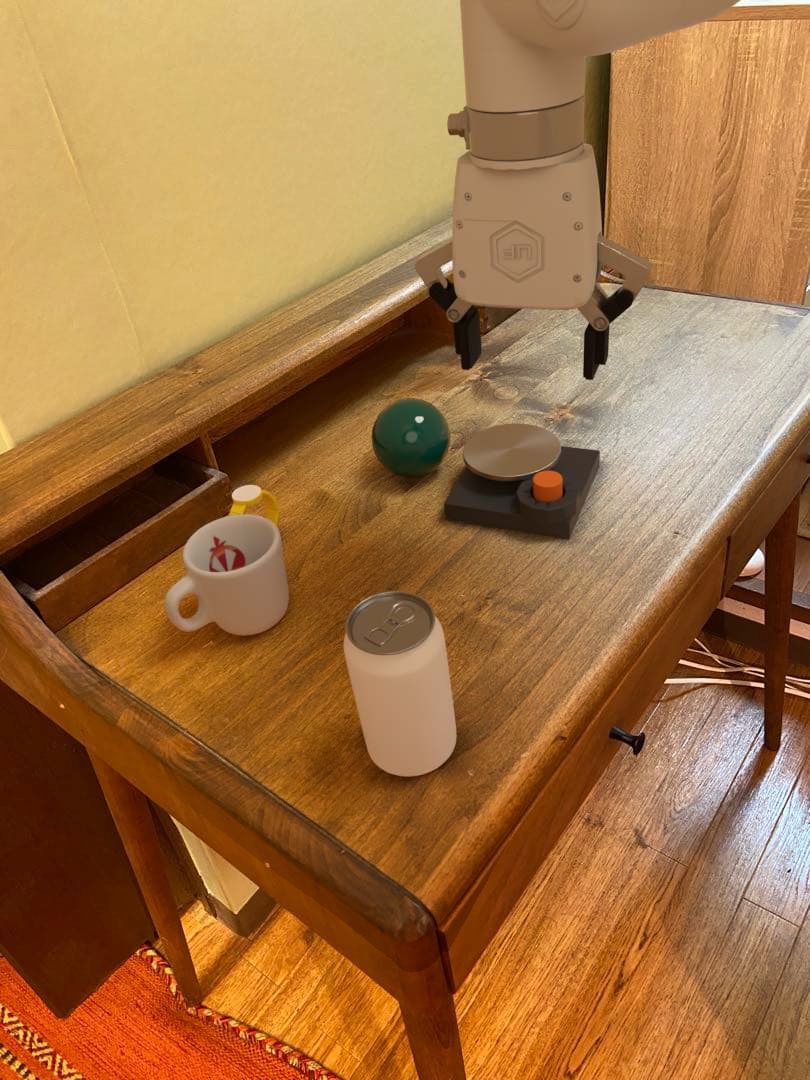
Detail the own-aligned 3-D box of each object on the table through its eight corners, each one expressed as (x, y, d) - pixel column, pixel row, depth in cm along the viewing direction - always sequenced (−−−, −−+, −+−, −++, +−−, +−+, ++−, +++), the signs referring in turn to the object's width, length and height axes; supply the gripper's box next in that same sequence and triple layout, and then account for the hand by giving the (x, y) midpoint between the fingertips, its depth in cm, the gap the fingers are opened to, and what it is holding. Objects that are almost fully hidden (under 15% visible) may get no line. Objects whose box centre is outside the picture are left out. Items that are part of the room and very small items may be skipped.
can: (475, 732, 58) (462, 610, 51) (418, 796, 55) (395, 675, 47) (406, 693, 62) (385, 573, 55) (348, 750, 58) (317, 631, 51)
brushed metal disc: (571, 433, 81) (571, 428, 81) (546, 487, 74) (546, 482, 74) (481, 423, 84) (481, 418, 84) (449, 474, 78) (448, 469, 78)
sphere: (363, 469, 87) (351, 403, 82) (425, 441, 90) (417, 375, 85) (403, 503, 81) (393, 434, 76) (469, 472, 84) (463, 403, 79)
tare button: (565, 488, 75) (565, 472, 74) (558, 504, 73) (558, 488, 72) (537, 484, 76) (537, 468, 75) (529, 500, 74) (529, 484, 73)
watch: (253, 566, 76) (237, 515, 73) (229, 559, 77) (213, 509, 74) (289, 528, 80) (276, 478, 76) (267, 523, 81) (252, 473, 78)
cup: (209, 682, 65) (180, 609, 60) (163, 634, 70) (132, 563, 65) (317, 611, 70) (298, 538, 65) (266, 571, 75) (245, 501, 70)
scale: (602, 466, 82) (603, 436, 80) (570, 544, 73) (570, 513, 71) (485, 452, 87) (483, 423, 84) (442, 524, 78) (438, 494, 76)
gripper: (382, 149, 54) (411, 381, 65) (652, 143, 48) (634, 400, 59) (422, 119, 59) (443, 338, 70) (670, 111, 53) (651, 352, 64)
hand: (530, 366), depth 64 cm, fingers open, 9 cm apart
